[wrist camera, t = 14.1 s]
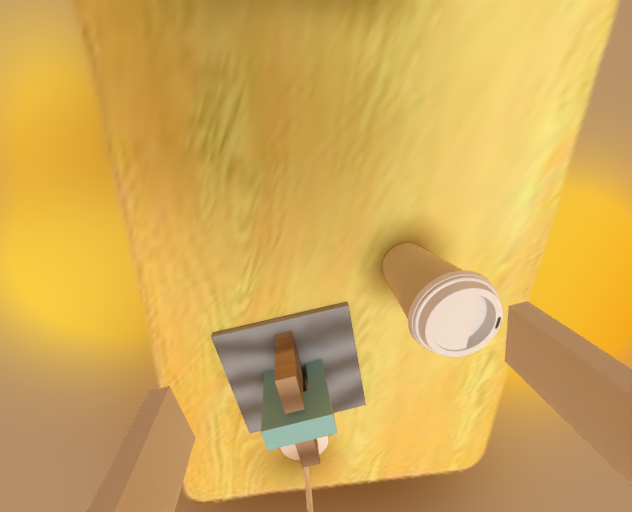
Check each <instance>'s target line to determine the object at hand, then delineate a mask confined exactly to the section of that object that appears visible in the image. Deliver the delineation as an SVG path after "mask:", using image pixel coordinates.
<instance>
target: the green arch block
mask: <svg viewBox="0 0 632 512" xmlns="http://www.w3.org/2000/svg"><path fill="white" fill-rule="evenodd" d="M306 368H307V376H308V384H309V391H305V392H303V395H304V405H305V409H304V410H300V411H296V412H292V413H288V414H285V412H284V409H283V405H282V402H281V399H280V396H279V393H278V390H277V387H276V384H275V370H272V371H268V372H264V386H263V403H262V420H261V434H262V436H263V439H264V441H265V444H266V447H267V449H268V451H269V450H273V449H277V448H281V447H285V446H289V445H293V444H297V443H301V442H305V441H309V440H313V439H317V438H321V437H325V436H329V435H333V434H337V429H336V424H335V420H334V415H333V410H332V405H331V400H330V395H329V390H328V385H327V380H326V375H325V371H324V366H323V362H322V359H318V360H314V361H310V362H306Z"/></svg>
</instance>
